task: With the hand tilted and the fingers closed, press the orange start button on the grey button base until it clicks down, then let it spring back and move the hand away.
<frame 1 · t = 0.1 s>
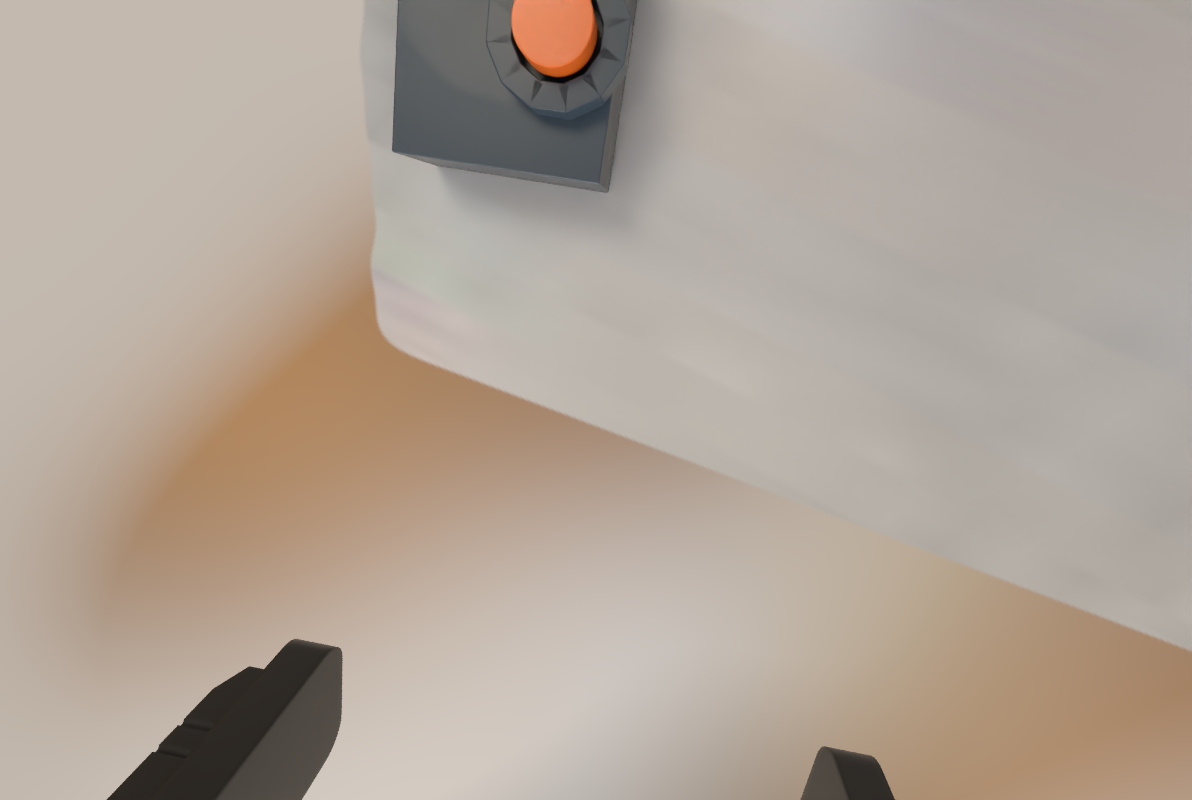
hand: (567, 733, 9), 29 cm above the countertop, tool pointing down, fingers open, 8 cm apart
start button: (555, 27, 25), point 8 cm above the countertop, slide at 0.1 cm
grey button base: (532, 71, 33), on the countertop
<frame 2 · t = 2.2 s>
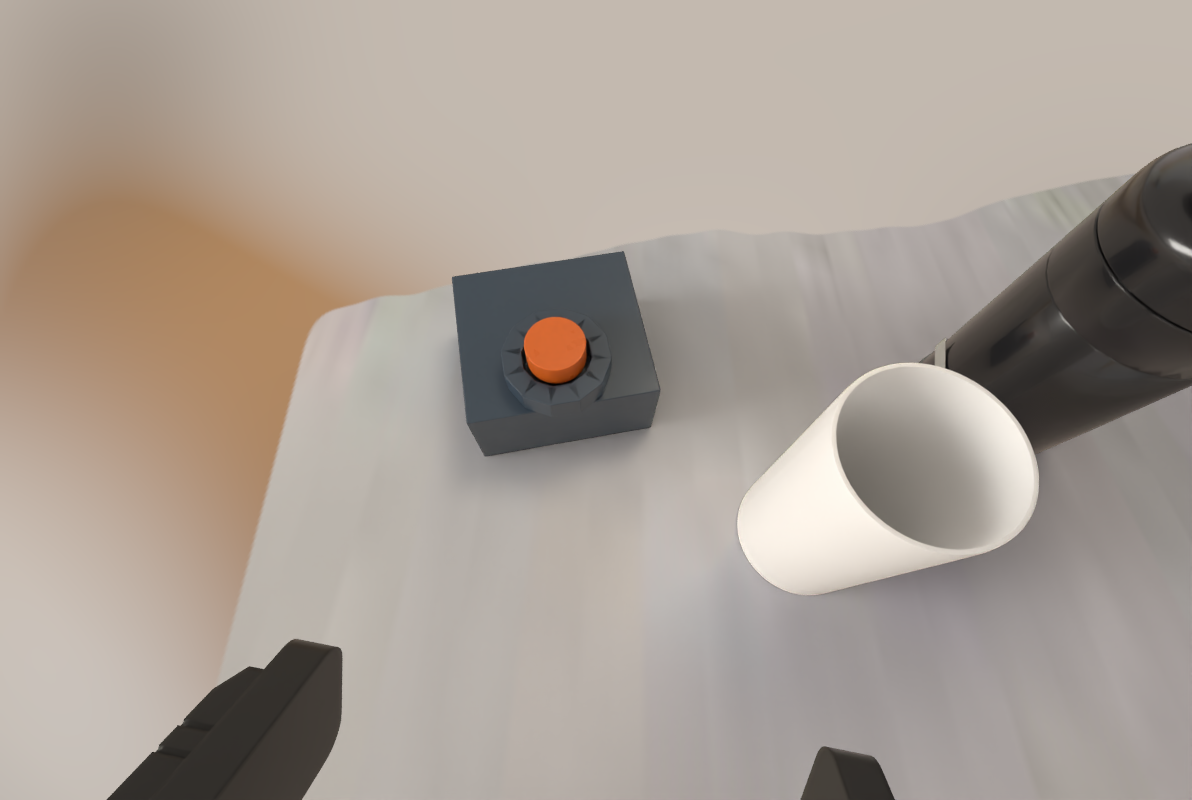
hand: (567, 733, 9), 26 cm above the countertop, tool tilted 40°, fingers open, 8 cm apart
start button: (555, 350, 33), point 8 cm above the countertop, slide at 0.1 cm
cup: (798, 530, 37), on the countertop
grey button base: (556, 374, 42), on the countertop
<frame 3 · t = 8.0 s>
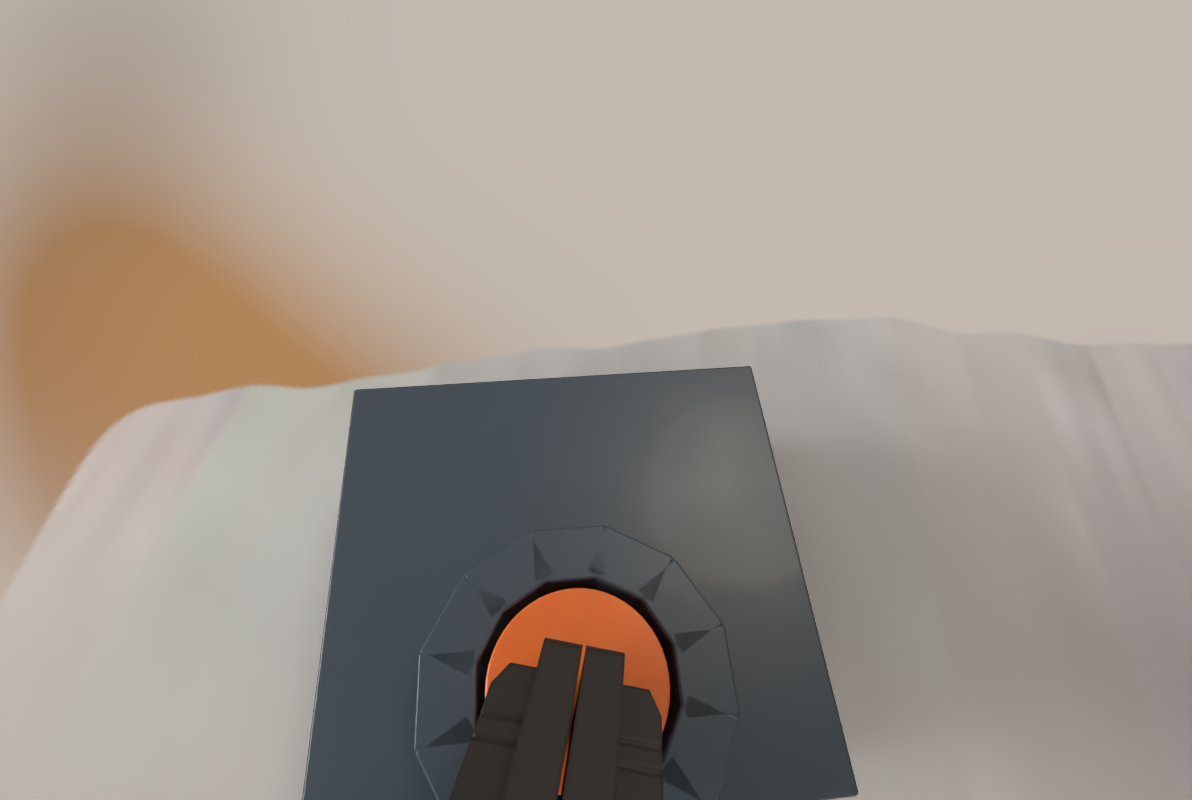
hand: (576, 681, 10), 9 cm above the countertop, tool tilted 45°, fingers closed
start button: (577, 684, 11), point 8 cm above the countertop, slide at -0.6 cm, touching gripper
grey button base: (571, 597, 20), on the countertop
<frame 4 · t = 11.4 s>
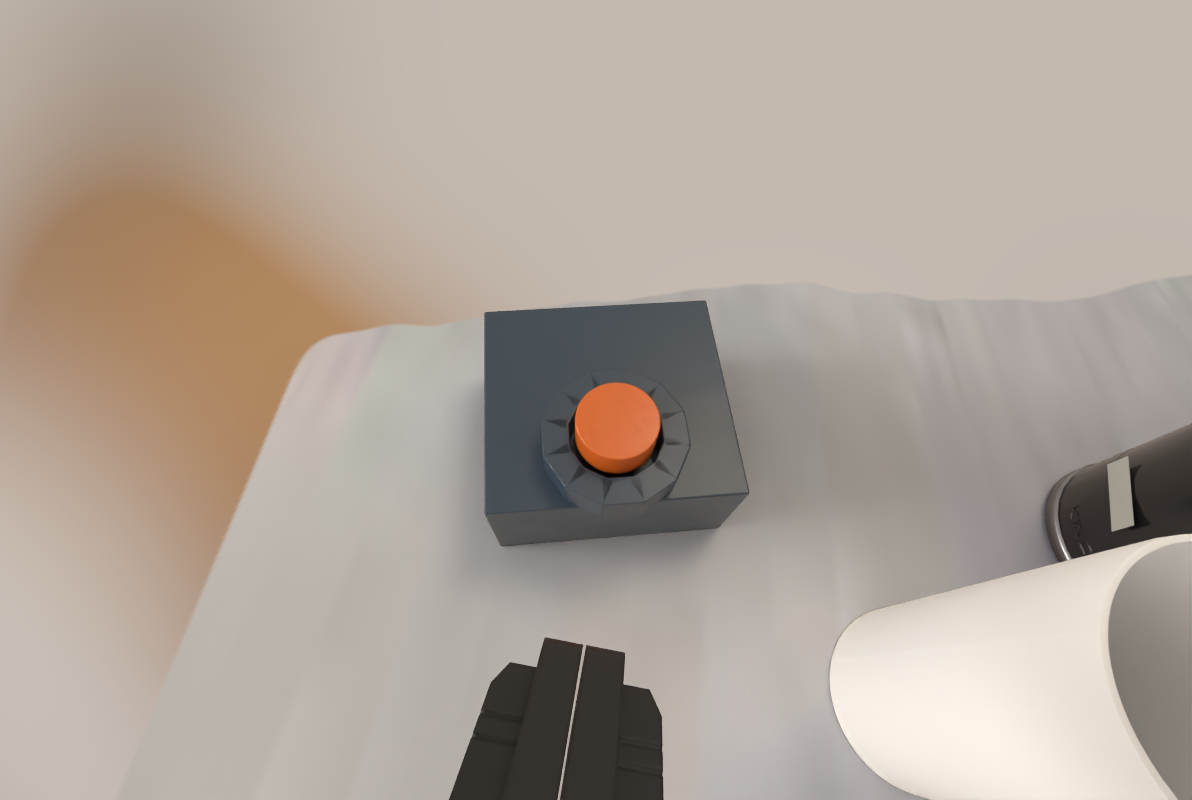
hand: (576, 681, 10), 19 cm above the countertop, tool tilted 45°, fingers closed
start button: (616, 428, 24), point 8 cm above the countertop, slide at 0.1 cm
cup: (911, 696, 27), on the countertop
grey button base: (601, 444, 33), on the countertop
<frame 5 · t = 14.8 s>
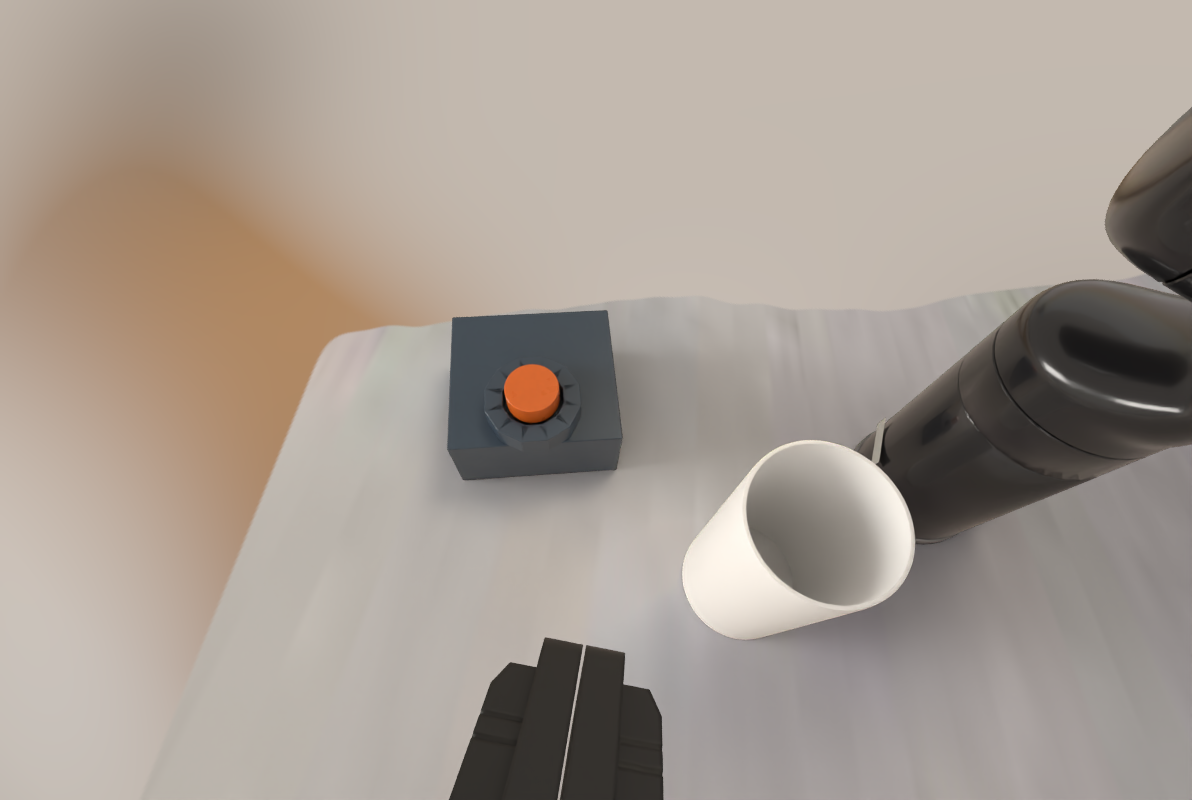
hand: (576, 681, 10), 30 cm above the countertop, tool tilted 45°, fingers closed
start button: (532, 393, 37), point 8 cm above the countertop, slide at 0.1 cm
cup: (737, 579, 41), on the countertop
grey button base: (537, 412, 46), on the countertop
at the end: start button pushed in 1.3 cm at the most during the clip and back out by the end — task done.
